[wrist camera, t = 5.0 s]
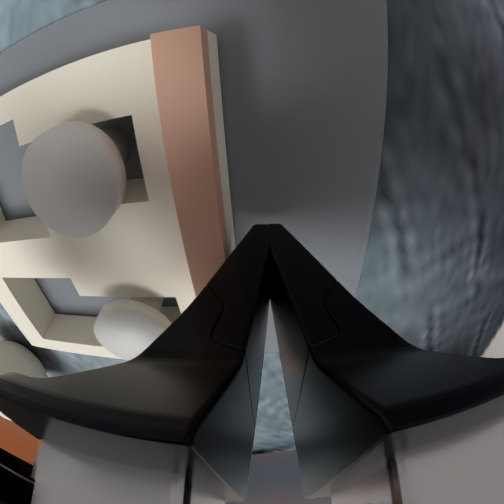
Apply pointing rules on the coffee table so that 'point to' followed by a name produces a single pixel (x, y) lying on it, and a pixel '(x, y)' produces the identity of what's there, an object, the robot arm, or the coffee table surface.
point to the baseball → (19, 362)
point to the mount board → (236, 136)
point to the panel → (127, 186)
